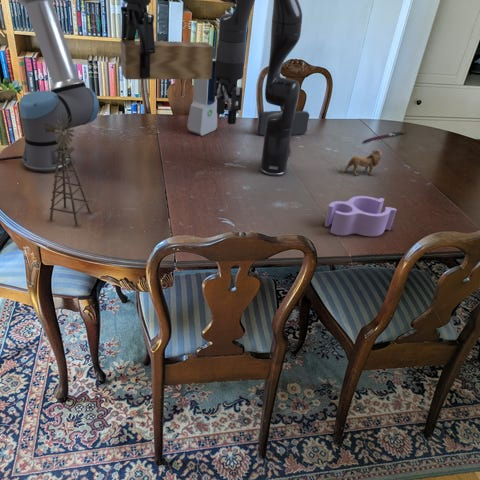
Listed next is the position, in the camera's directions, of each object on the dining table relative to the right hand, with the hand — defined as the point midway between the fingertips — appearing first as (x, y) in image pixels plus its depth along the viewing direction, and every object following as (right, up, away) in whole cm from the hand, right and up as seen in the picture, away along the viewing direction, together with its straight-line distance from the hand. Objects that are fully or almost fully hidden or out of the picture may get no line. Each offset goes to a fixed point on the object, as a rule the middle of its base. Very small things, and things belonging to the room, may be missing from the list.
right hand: (225, 118), depth 131 cm
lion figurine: (+50, -9, +47) cm, 69 cm away
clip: (+40, -30, +11) cm, 51 cm away
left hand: (-26, +15, +6) cm, 31 cm away
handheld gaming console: (+22, +12, +74) cm, 79 cm away
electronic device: (-12, +12, +69) cm, 71 cm away
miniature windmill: (-44, -28, +1) cm, 52 cm away
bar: (-18, +15, +10) cm, 26 cm away
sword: (+71, +12, +83) cm, 109 cm away
